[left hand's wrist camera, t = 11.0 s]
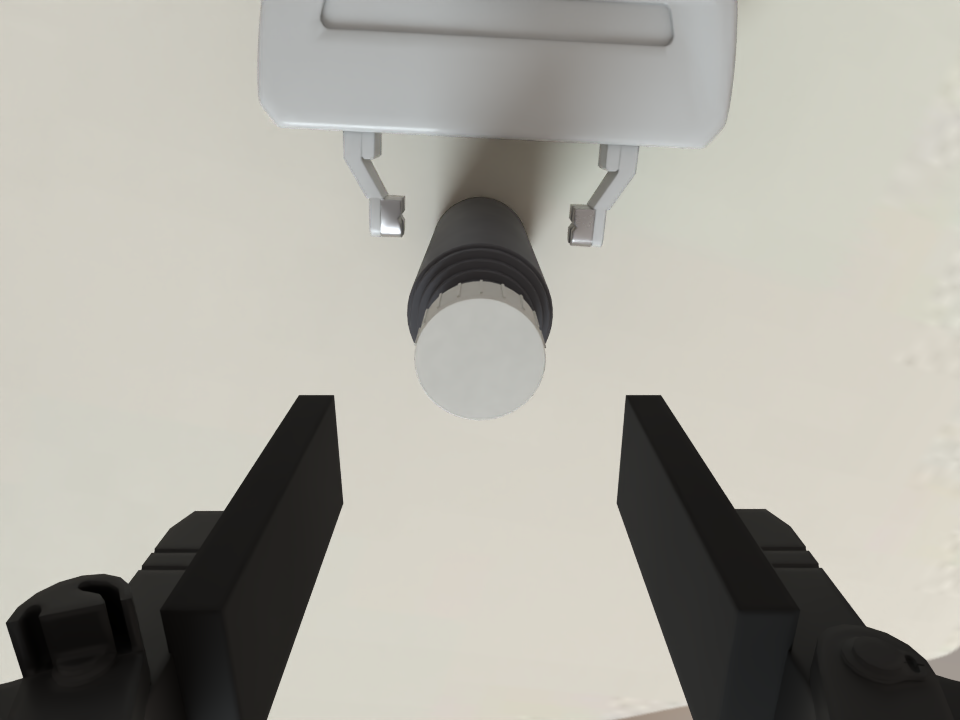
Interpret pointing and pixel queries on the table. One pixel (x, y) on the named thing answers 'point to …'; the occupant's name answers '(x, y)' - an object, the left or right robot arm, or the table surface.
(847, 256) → the table surface
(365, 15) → the right robot arm
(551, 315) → the bottle
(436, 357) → the cap
